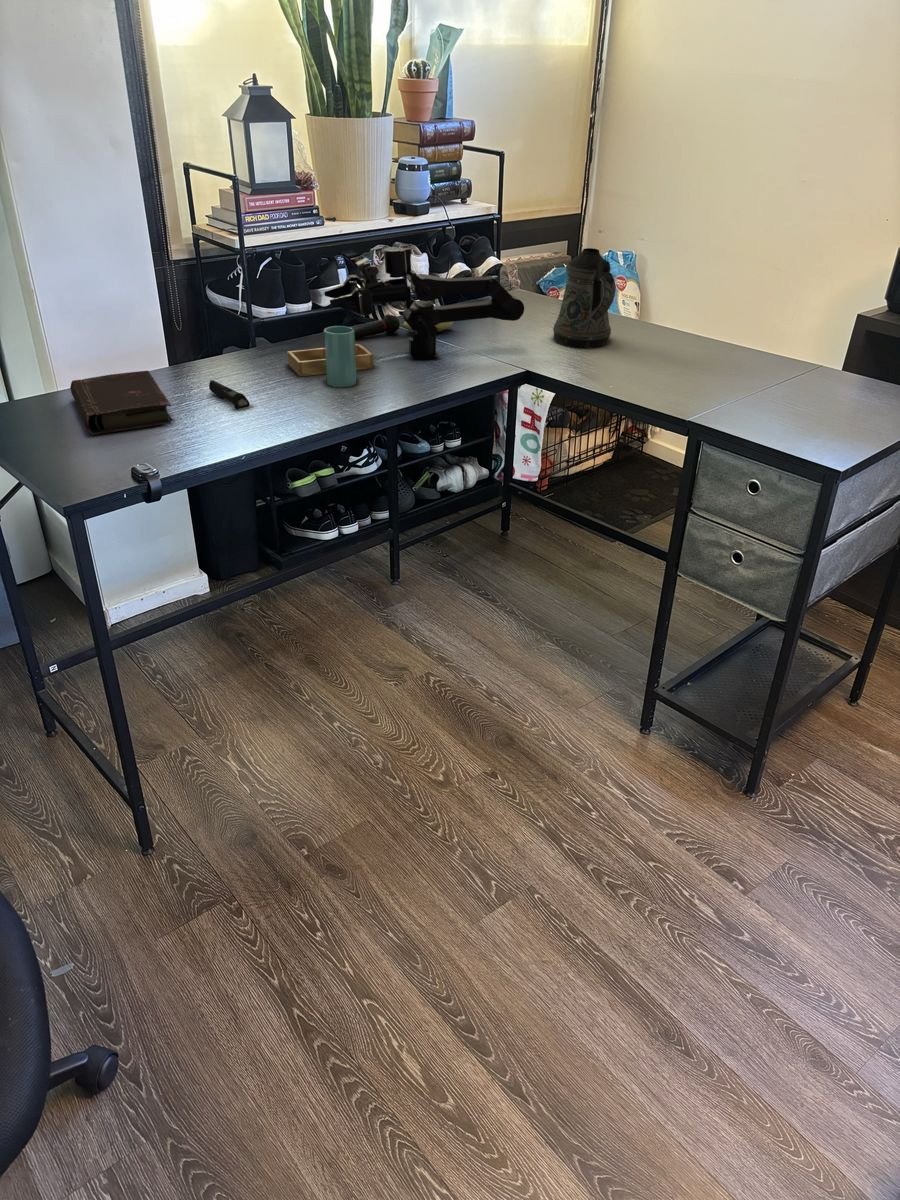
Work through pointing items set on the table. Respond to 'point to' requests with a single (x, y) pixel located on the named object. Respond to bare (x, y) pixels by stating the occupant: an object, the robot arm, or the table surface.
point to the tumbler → (340, 356)
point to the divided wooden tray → (324, 360)
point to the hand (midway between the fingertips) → (327, 297)
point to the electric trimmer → (229, 395)
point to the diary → (120, 402)
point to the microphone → (379, 327)
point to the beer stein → (586, 302)
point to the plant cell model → (440, 326)
